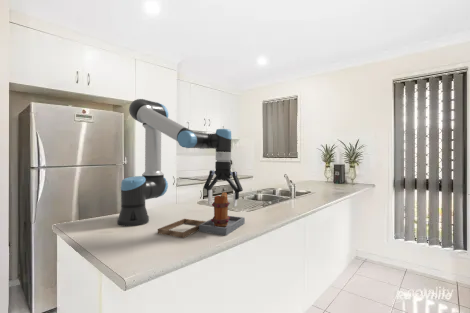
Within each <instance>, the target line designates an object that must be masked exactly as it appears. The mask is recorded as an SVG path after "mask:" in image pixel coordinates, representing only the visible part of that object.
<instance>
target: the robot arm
mask: <svg viewBox="0 0 470 313" xmlns="http://www.w3.org/2000/svg"><path fill="white" fill-rule="evenodd" d="M128 113H129V115H130V116H131V118H132V119H134V120H135V121H137V122H138V123H141V124H142V127H143V128H144V129H145V132H144V133H145V138H144V139H145V140H144V142H145V144H144V146H145V147H144V153H145V154H144V172H143V173H142V175H136V176H135V175H134V176H129V177H126V178H123V179H122V180H121V184H120V197H121V199H120V203H121V204H120V212H119V215H118V218H117V225H118V226H120V227H136V226H142V225H145V224H147V223H149V222H150V216H149V215H148V211H147V207H146V200H150V199H157V198H160V197H163V196H164V195H165V194H166V193H167V191H168V187H169V185H168V184H169V183H168V181H167V178H165V176H164V175H165V174H164V173H163V172H162V134H164V135H165V136H167V137H169V138H171V139H173V140H175V141H176V142H178V144H179V146H180V147H182V148H186V149H202V150H205V149H207V150H208V149H210V150H211V149H215V166H214V168H215V170H214V169H212V170H209V172H208V177H207V178H206V180H205V183H204V185H203V189H205V190H206V197H207V198H208V201H207V205H208V204H209V205H211V204H213V189H212V188H213V187H214V186H215V185H216V184H217V182H218V181H226V182H227V183H228V185H230V187H231V188H232V190H233V193H232V194H233V196H232V207H234V208H235V207H237V206H238V200H240V199H239V198H240V193H241V192H243V190H244V189H243V186H242V184H241V182H240V180H239V177H238V172H237V171H231V170H232V169H231V168H232V162H231V161H232V131H231V129H229V128H218V129H216V131H215V132H214V133H207V132H206V133H204V132H199V131H193V130H191V129H189V128H187V127H186V126H184V125H182V124H180V123H178V122H176V121H175V120H172V119H171V118H169V111H168V109H167V107H166V106H165V105H164V104H162V103H160V102H156V101H152V100H148V99H143V98H137V99H134V100H133V101H132V102H131V103H130V105H129V108H128ZM214 175H215V177H214ZM231 176H232V177H231ZM232 178H233V179H232Z"/></svg>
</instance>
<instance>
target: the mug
mask: <svg viewBox="0 0 470 313" xmlns="http://www.w3.org/2000/svg"><path fill="white" fill-rule="evenodd" d="M228 197H229V196H228V192H222V193H221V195H214V198H213V201H212V203H211V206H212V207H213V217H212V218H211V221H212V222H214V226H217V227H225V226H227V225H228V222H229V219H230V217H229V216H230V215H228V213H229V212H228V210H229V206H230V202H229V201H228V200H229V199H228Z"/></svg>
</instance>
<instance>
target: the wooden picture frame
mask: <svg viewBox="0 0 470 313" xmlns="http://www.w3.org/2000/svg"><path fill="white" fill-rule="evenodd" d="M206 221H207V220H199V219H198V220H197V219H192V218H191V219H189V218H182V219H180V220H177V221H175V222H172V223H169V224H167V225H165V226H162V227H160V228H157V234H158V235H164V236H170V237H175V238H183V239H184V238H186V237H189V236H191V235H193V234H195V233H196V232H199V225H200V224H202V223H204V222H206ZM185 224H189V225H196V226H193V227H191V228H189V229H187V230H184V231H177V230H172V229H174V228H177V227H179V226H181V225H185Z"/></svg>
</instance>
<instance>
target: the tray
mask: <svg viewBox="0 0 470 313" xmlns="http://www.w3.org/2000/svg"><path fill="white" fill-rule="evenodd" d="M228 216H229V217H230V219H229V222H228V225H227V226H225V227H217V226H214V222H212V221H211V219H212V218H211V219H208V220H205V221H206V222H204V223H202V224H200V225H199V230H198V232H199V233H200V232H201V233H202V232H203V233H208V234H213V235H214V234H215V235H221V236H228V235H229V234H231V233H233V232H234V231H236V230H237V229H238V228H240V227H242V226H243V225H245V222H246V221H245V217H243V216H234V215H228Z"/></svg>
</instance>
